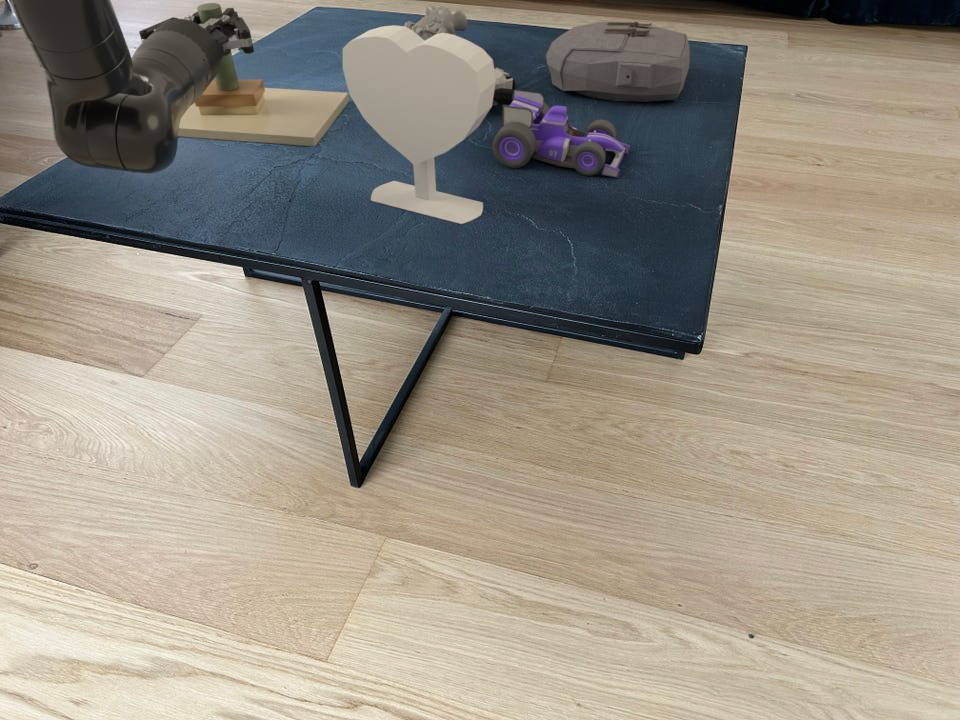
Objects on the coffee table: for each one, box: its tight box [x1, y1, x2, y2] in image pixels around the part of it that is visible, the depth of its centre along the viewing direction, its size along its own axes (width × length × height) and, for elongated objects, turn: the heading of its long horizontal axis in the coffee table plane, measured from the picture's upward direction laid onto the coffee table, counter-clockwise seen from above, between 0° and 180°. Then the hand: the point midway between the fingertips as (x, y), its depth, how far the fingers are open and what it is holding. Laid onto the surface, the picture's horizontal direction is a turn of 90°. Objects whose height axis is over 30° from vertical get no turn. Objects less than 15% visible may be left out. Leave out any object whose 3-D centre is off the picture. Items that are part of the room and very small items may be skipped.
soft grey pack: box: [545, 21, 691, 103], centre depth 105 cm, size 15×8×20 cm
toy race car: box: [491, 89, 631, 178], centre depth 89 cm, size 10×15×6 cm, turn 70°
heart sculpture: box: [342, 24, 496, 225], centre depth 78 cm, size 16×5×18 cm, turn 63°
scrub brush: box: [195, 2, 266, 115], centre depth 96 cm, size 8×5×13 cm, turn 89°
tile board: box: [178, 87, 350, 147], centre depth 100 cm, size 20×14×1 cm
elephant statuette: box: [403, 4, 468, 41], centre depth 112 cm, size 9×12×8 cm
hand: (219, 16), depth 96 cm, fingers closed on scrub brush, 3 cm apart
